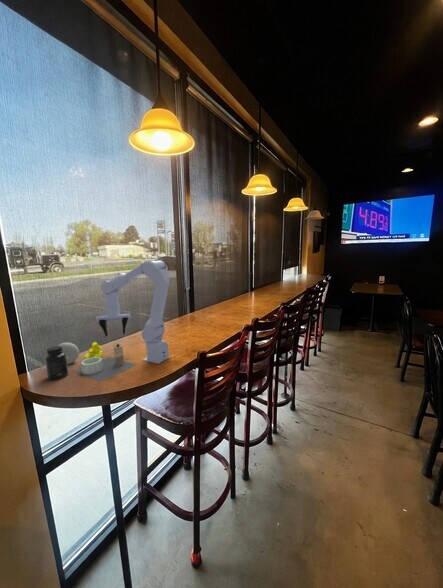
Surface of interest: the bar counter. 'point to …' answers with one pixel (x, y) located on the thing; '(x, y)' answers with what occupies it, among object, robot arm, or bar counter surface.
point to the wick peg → (118, 355)
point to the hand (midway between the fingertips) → (115, 334)
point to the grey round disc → (72, 350)
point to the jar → (92, 365)
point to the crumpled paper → (94, 351)
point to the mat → (107, 369)
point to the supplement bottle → (56, 363)
